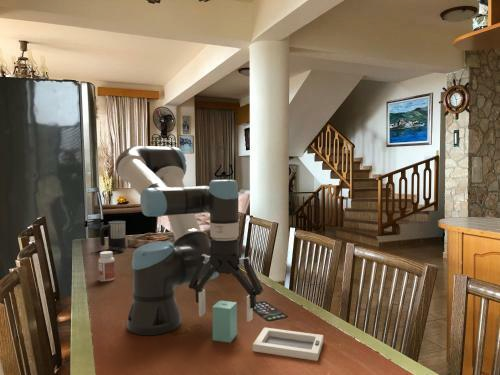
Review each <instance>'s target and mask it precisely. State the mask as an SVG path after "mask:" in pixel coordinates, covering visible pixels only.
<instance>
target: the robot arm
mask: <svg viewBox="0 0 500 375" xmlns="http://www.w3.org/2000/svg"><path fill="white" fill-rule="evenodd" d="M114 168H115V171H116V174H117V175H118V177H120V179H121V180H122V181H124V182H125V183H129V184H130V186H131V187H132V188H133V189H134V190H135V191H136V192H137V194H139V195H140V199H139V201H140V202H139V204H140V208H141V213H142V214H143V215H144V216H146V217H156V218H158V217H160V218H161V217H167V219H168V221H169V222H168V223H169V225H170V227H171V228H170V229H171V231H172V234H174V237H175V241H174V243H172V242H170V241H162V242H153V243H148V244H145V245H142V246H140V247H136V249H135V250H134V251H133V253H132V261H131V269H132V303H131V306H130V308H129V311H128V315H127V319H126V329H127V331H128V332H130V333H132V334H134V335H140V336H157V335H162V334H165V333H170V332H172V331H174V330H176V329H177V328H179V327H180V326H181V324H182V315H181V312H180V309H179V308H180V307H179V306H178V302H177V300H176V296H175V287H177V286H182V285H188V288H189V289H192V290H194V291H195V302H196V303H197V304H198V316H199V317H203V316H204V315H205V314H206V313H207V312H206V310H207V309H206V289H205V288H204V287H205V286H206V284H207V283H208V282H209V281H210V280H214V279H216V278H218V276H219V274H225V275H230V274H231V275H232V276H233V277H235V278H236V280H237V281H238V282H239V284H240V285H241V286H242V288H243V289H244V290H245V291H246V293H247V294H248V295H247V296H246V305H247V306H246V322H247V323H248V322H249V323H251V321H252V320H253V319H254V316H253V314H254V311H253V309H254V308H255V307H256V302H257V296H260V295H261V294H262V293H263V292H264V288H263V286H262V284H261V282H260V280H259V278H258V276H257V273H256V272H255V269H254V267H253V265H252V257H250V256H247V257H240V255H239V254H240V242H239V241H240V240H239V238H238V237H239V234H240V231H239V229H240V227H239V226H240V225H239V224H240V223H239V195H240V194H239V185H238V182H237V180H235V179H212V180H210V182H209V185H206V184H205V185H197V186H185V184H184V181H183V180H184V177H185V175H186V173H187V160H186V157H185V154H184V152H183V150H181V149H180V148H178V147H175V146H170V145H169V146H168V145H166V146H149V145H148V146H147V145H146V146H145V145H136V146H131V147H129V148H126V149H125V150H123V151H122V152H121V153H120V154H119V155H118V157H117V158H116V160H115V167H114ZM196 214H209V224H210V225H209V230H210V231H209V232H210V235H208V233H207V232H205V230H204V231H203V230H201V227H200V224H199V222H198V219H197V217H196ZM209 236H210V237H211V239H210V238H209ZM240 264H241V266H243V268H244V271H245V273H246V275H247V276H245V274H244V273H243V271H242V269H241V267H239V265H240ZM247 277H248V278H247ZM248 279H249V280H248ZM203 288H204V289H203Z"/></svg>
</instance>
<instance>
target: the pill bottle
mask: <svg viewBox="0 0 500 375" xmlns="http://www.w3.org/2000/svg"><path fill="white" fill-rule="evenodd" d="M113 256H114V255H113V250H108V251H107V250H105V251H101V252H99V259H98V261H97V262H98V263H97V265H98V280H99V282H111V281H113V280H115V278H116V264H115V260H116V259H115V257H113Z"/></svg>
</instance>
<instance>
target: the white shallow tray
mask: <svg viewBox="0 0 500 375" xmlns="http://www.w3.org/2000/svg"><path fill="white" fill-rule="evenodd" d="M323 344H324V335H323V334H316V333H309V332H301V331H295V330H294V331H293V330H288V329H287V330H286V329H279V328H273V327H271V328H270V327H266V326H265V327H263V329H262V330H261V332H260V333H259V334H258V336H257V337H256V339H255V340H254V342H253V343H252V351H253V352H257V353H262V354H263V353H265V354H269V355H271V354H272V355H275V356H276V355H277V356H284V357H289V358H297V359H304V360H309V361H316V362H317V361H318V360H319V357H320V355H321V351H322V348H323Z"/></svg>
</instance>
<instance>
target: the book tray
mask: <svg viewBox="0 0 500 375" xmlns="http://www.w3.org/2000/svg"><path fill="white" fill-rule="evenodd" d="M160 234H161V233H156V232H155V233H154V232H147V233H144V234H141V235H138V236H137V235H136V236H135V237H132V238H128V239H127V247H129V248H130V247H131V248H138V247H140V246H142V245H145V244H148V243H153V242H162V241H148V240H145V236H154V235H160ZM162 234H163V235H165V236H168V237H172V238H173V239H170V240H167V241H170V242H172V243H174V241H175V237H174V234H173V233H172V234H171V233H162Z"/></svg>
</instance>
